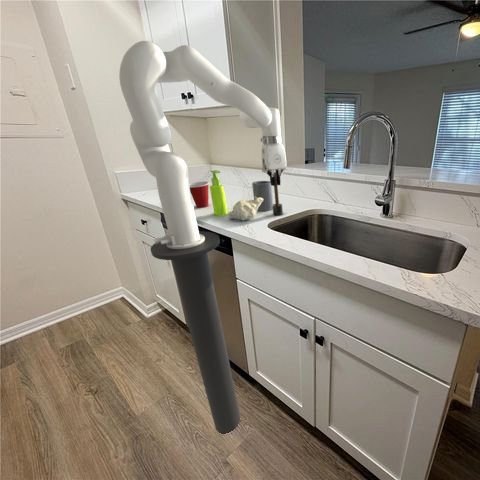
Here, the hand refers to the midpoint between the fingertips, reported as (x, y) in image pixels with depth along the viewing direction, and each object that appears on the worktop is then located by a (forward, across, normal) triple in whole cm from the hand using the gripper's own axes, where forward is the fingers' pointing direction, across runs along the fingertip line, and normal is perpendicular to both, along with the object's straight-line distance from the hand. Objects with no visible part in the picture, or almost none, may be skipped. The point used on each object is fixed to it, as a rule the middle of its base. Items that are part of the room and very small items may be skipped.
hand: (275, 185), depth 115 cm
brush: (+14, 0, 0) cm, 14 cm away
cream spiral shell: (+14, -12, +6) cm, 19 cm away
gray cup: (+14, +1, +13) cm, 19 cm away
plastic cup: (+14, -19, +41) cm, 47 cm away
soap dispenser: (+14, -18, +20) cm, 30 cm away
